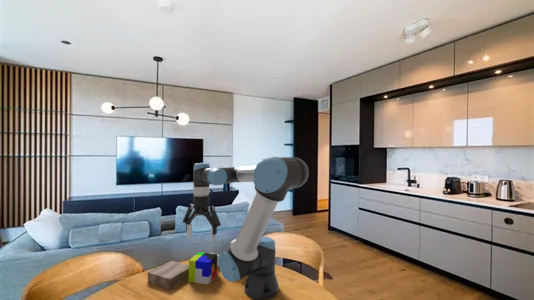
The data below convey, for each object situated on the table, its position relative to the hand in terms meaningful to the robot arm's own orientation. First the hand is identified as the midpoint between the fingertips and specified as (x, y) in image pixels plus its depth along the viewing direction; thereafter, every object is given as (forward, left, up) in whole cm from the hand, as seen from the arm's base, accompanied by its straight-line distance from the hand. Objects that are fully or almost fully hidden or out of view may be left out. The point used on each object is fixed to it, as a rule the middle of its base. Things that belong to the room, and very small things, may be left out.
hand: (201, 239), depth 122 cm
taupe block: (+12, +7, -19) cm, 24 cm away
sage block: (+3, -12, -19) cm, 22 cm away
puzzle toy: (-1, -1, -19) cm, 19 cm away
